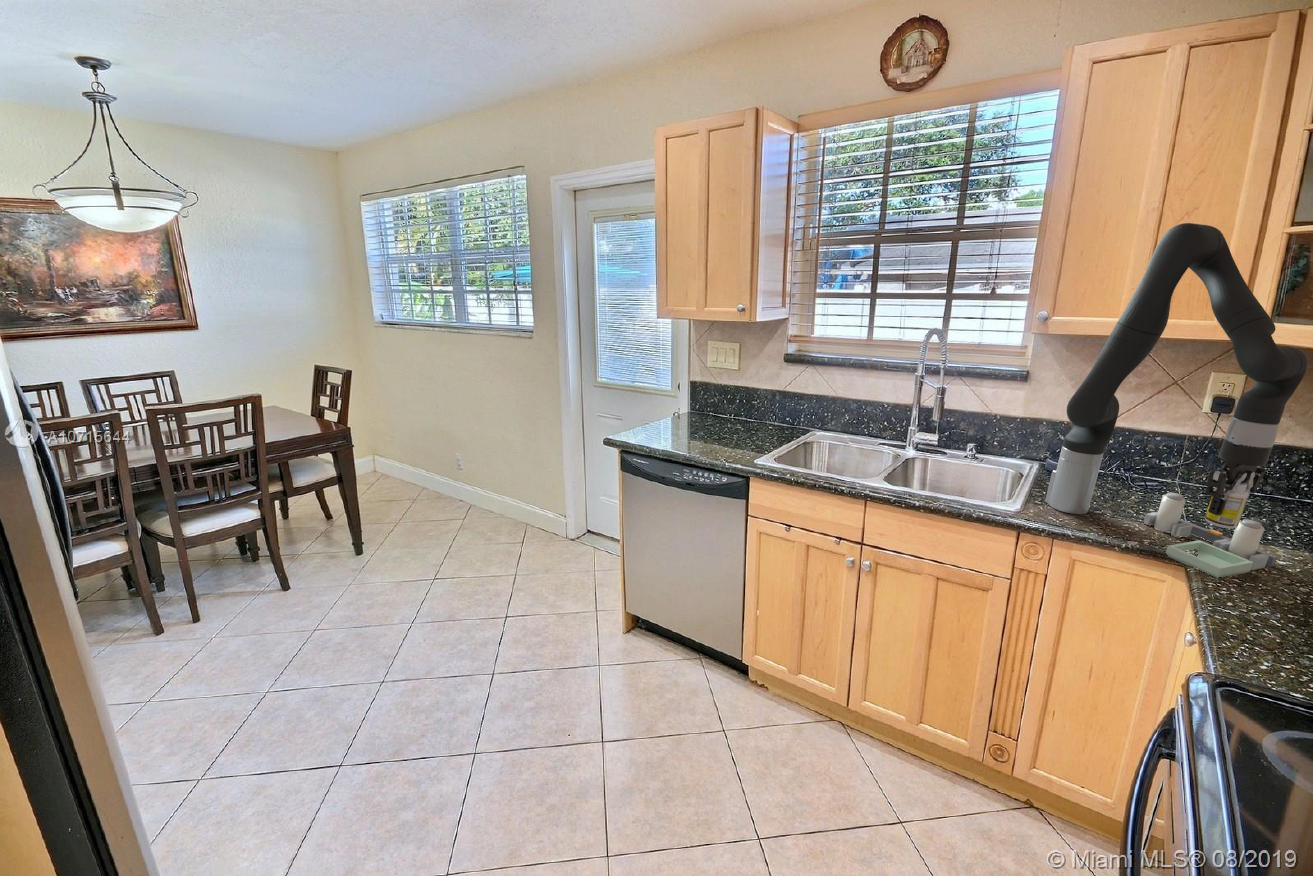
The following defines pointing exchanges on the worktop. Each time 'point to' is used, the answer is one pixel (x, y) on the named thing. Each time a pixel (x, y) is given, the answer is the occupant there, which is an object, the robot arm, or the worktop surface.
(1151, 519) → the fuse holder
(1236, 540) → the fuse
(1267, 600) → the worktop surface
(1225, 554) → the tray
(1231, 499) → the supplement bottle
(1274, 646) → the worktop surface
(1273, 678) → the worktop surface
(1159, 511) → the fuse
